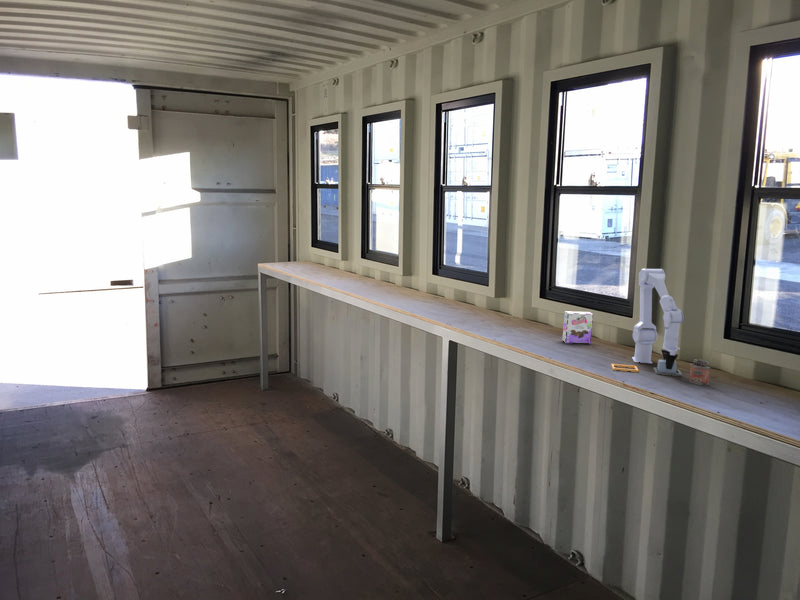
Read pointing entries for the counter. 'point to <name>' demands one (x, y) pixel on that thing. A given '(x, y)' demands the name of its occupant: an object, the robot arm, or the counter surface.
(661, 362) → the plug
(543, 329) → the counter surface
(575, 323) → the candy box
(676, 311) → the robot arm
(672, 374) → the open gray picture frame
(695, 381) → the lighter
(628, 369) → the orange picture frame
